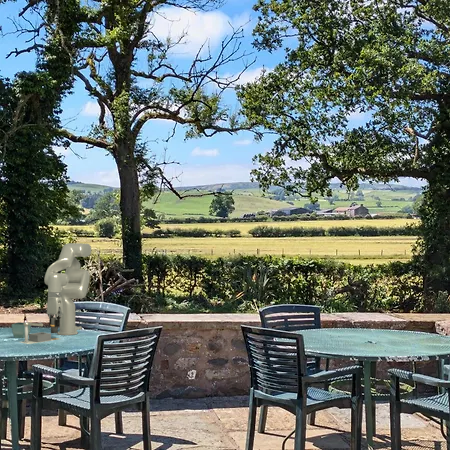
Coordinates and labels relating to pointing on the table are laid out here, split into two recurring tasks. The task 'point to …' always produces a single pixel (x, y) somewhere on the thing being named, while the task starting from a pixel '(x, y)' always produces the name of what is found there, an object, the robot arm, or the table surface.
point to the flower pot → (19, 330)
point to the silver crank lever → (33, 324)
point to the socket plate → (36, 337)
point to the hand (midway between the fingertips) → (54, 325)
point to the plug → (53, 326)
